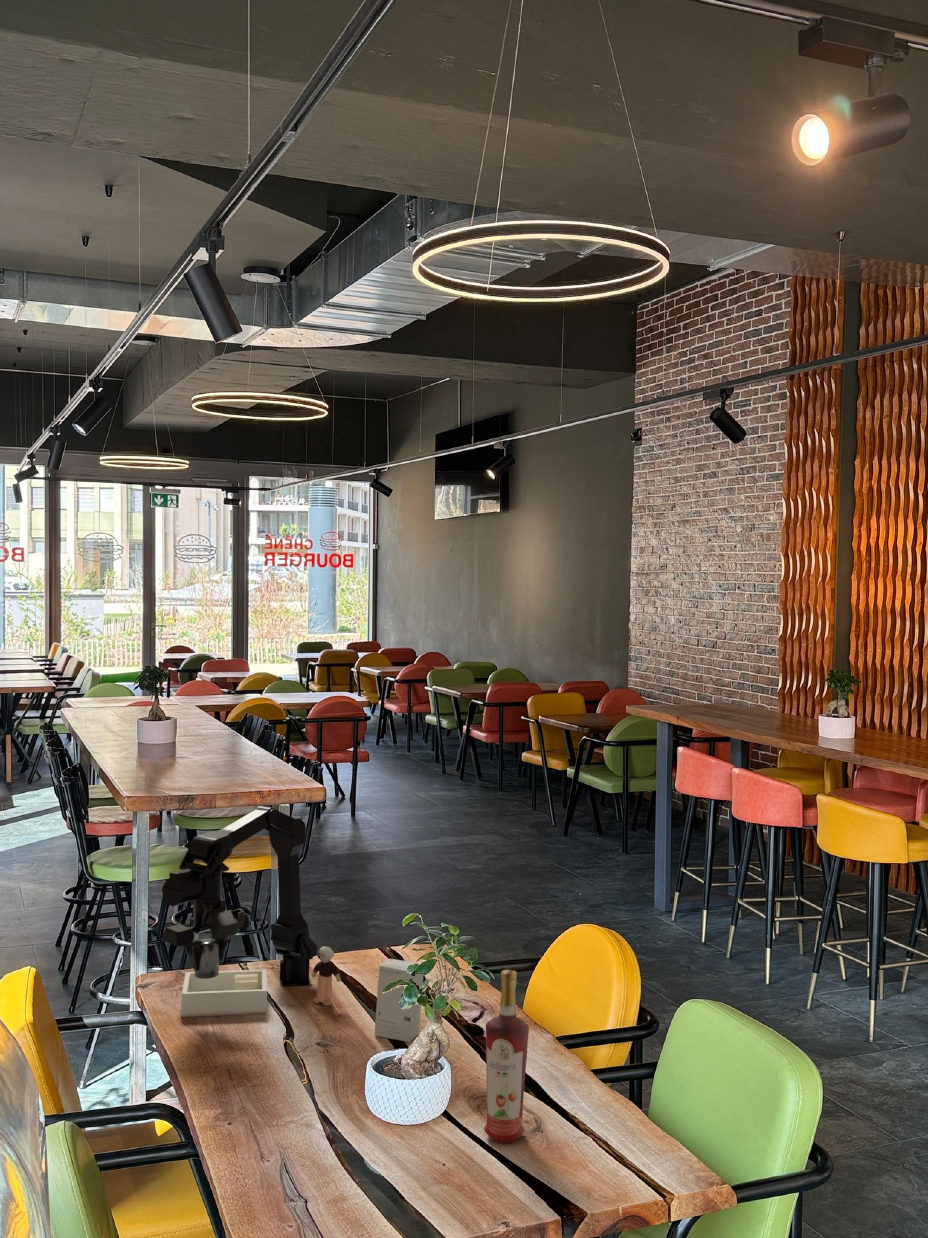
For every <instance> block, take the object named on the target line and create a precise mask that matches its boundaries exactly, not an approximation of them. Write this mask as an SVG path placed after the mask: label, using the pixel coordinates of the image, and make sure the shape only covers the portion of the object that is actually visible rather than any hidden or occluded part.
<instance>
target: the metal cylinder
mask: <svg viewBox="0 0 928 1238" xmlns="http://www.w3.org/2000/svg"><path fill="white" fill-rule="evenodd" d="M199 941H202V942H203V943H202V944H201V946H200V948H199V970H198V971H195V970H194V972H195V977H197V978H201V979H209V978H214V977H216V976H218V975H219V971H220V964H219V940H217V939H212V937H211V938H201V939H199Z"/></svg>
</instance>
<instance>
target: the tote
mask: <svg viewBox="0 0 928 1238" xmlns="http://www.w3.org/2000/svg"><path fill="white" fill-rule="evenodd" d="M247 974H258V987H257V989H256V990H234V985H235V975H247ZM267 977H268V976H267V969H243V970H242V969H241V970H219V975H218V976H216V977H214V978H209V979H201V978H197V977H195V971H185V974H184V979H183V984H182V985H183V986H182V990H181V1009H180V1010H181V1011H180V1014H181V1015H180V1017H181V1018H190V1017H212V1016H213V1017H214V1016H215V1017H217V1016H237V1015H238V1016H239V1015H243V1016H244V1015H262V1014H263V1015H265V1014H267V1003H268V1001H267V999H268V984H267V983H268V980H267Z"/></svg>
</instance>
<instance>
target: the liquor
mask: <svg viewBox="0 0 928 1238" xmlns="http://www.w3.org/2000/svg"><path fill="white" fill-rule="evenodd" d="M517 976H518V975H517V971H516V970H512V969H503V970H502V971H501V972H500V985H501V995H500V996H501V997H500V1002H499V1003H500V1004H499V1010H498V1016H494V1017H493V1018H491V1019H490V1020H489V1021H487V1022H486V1023H485V1062H486V1063H485V1064H486V1065H485V1066H486V1123H485V1125H484V1126H483V1130H484V1132H485V1133H486V1134H487V1136H488V1137H489V1138H490V1139H491V1140H492V1139H493V1140H494V1141H493V1140H492V1141H493V1142H495V1141H497V1142H496V1143H498V1142H503V1143H502V1144H510V1143H509V1142H511V1143H513V1141H514V1142H516V1140H518V1139H519V1138H520V1137H522V1136H523V1134H524V1133H525V1128H524V1126H523V1110H524V1096H525V1095H524V1094H525V1079H526V1069H527V1068H526V1067H527V1057H528V1045H529V1044H528V1043H529V1031H530V1028H529V1027H530V1026H529V1025H528V1023H527V1022H525V1021H524V1020H523V1019H522V1018H520V1017H518V1016H517V1008H516V1007H517V1004H516V988H517V987H516V986H517ZM506 1142H508V1143H506Z"/></svg>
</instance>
